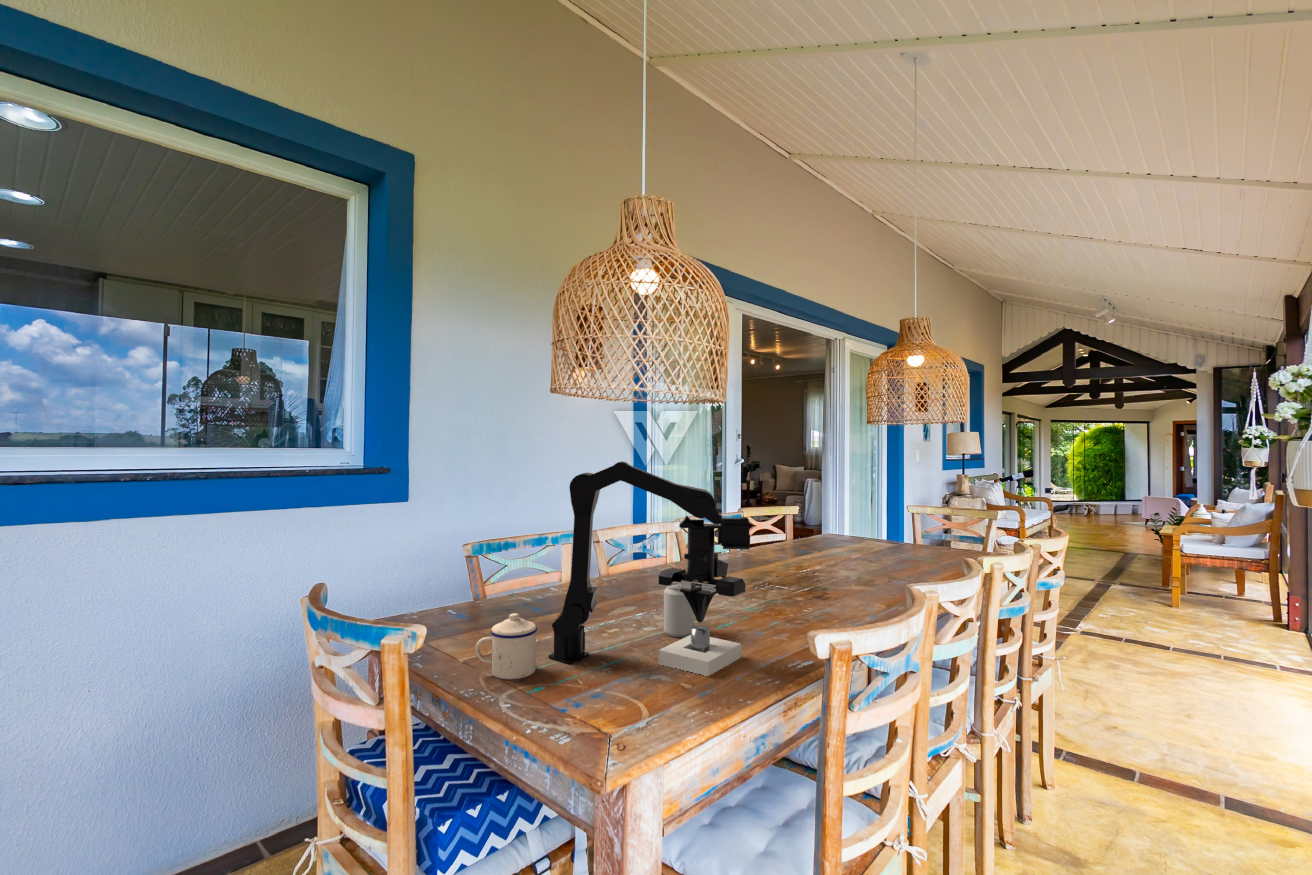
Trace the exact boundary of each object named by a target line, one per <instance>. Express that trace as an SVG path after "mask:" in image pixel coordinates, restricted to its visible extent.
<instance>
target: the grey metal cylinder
mask: <svg viewBox="0 0 1312 875" xmlns="http://www.w3.org/2000/svg"><path fill="white" fill-rule="evenodd" d="M710 629H711V628H710V627H709V626H707V625H701V624H700V625H699V624H698V625H694V626H692V627H691V650H694V651H699V652H703V653H706V652H708V651H710V637H711V630H710Z"/></svg>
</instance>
